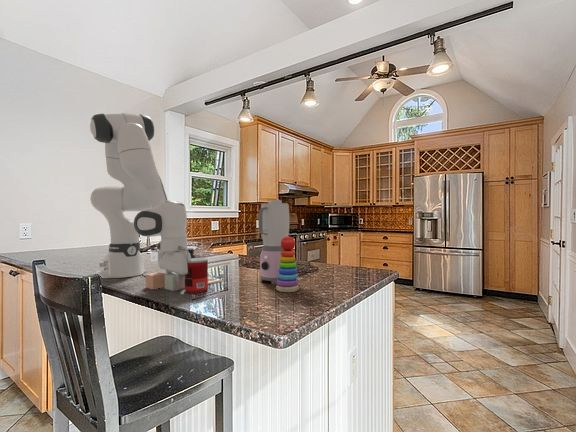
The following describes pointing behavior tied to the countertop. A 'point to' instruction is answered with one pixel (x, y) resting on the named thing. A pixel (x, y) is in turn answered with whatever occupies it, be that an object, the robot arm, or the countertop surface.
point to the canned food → (197, 275)
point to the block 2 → (173, 282)
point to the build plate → (213, 280)
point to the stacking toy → (287, 267)
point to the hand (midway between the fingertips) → (174, 283)
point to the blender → (272, 237)
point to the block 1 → (155, 280)
